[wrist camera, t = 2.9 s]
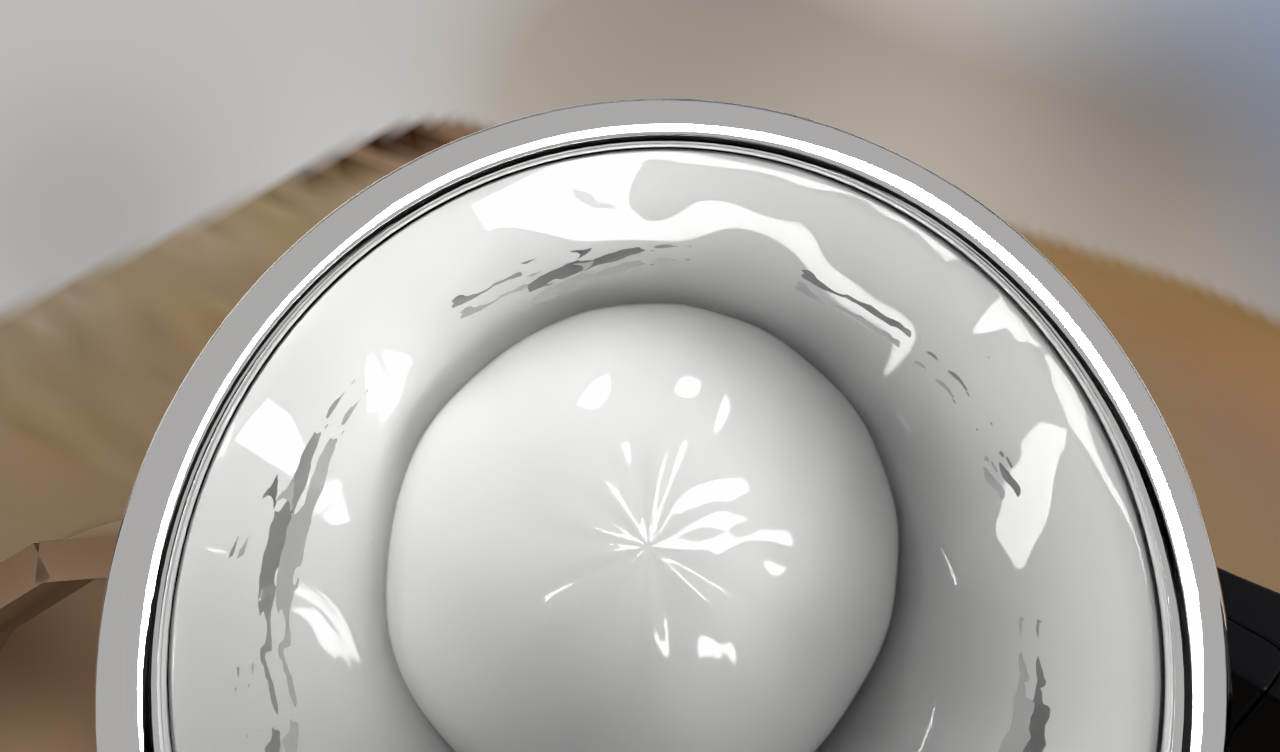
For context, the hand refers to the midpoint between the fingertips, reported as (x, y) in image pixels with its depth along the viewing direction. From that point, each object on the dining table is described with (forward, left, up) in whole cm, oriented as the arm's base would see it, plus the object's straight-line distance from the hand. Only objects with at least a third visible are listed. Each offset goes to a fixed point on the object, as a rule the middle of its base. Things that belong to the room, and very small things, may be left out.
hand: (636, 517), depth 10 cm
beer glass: (0, 0, -9) cm, 9 cm away
